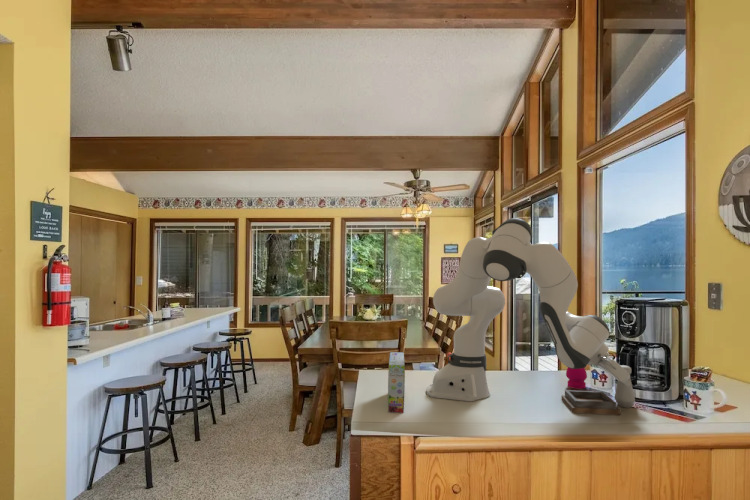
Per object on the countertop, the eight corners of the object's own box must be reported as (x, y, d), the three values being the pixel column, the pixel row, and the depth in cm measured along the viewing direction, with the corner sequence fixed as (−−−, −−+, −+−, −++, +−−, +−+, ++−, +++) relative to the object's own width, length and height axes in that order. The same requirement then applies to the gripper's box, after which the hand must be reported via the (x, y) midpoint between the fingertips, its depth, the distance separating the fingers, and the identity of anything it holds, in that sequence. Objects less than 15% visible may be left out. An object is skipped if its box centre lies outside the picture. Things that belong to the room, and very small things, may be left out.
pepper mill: (563, 386, 163) (562, 333, 164) (571, 382, 168) (570, 331, 169) (582, 390, 158) (581, 336, 159) (590, 386, 163) (589, 334, 163)
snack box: (405, 413, 134) (405, 365, 134) (387, 413, 134) (387, 364, 135) (404, 393, 155) (404, 351, 155) (388, 392, 155) (388, 351, 156)
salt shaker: (638, 409, 137) (636, 368, 138) (618, 407, 138) (617, 367, 139) (630, 403, 143) (629, 364, 144) (612, 402, 144) (611, 363, 145)
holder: (572, 412, 134) (572, 401, 134) (561, 399, 147) (561, 389, 147) (620, 415, 132) (620, 403, 132) (605, 401, 145) (604, 391, 145)
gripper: (612, 352, 132) (647, 385, 130) (590, 340, 153) (620, 369, 151) (597, 365, 133) (632, 399, 131) (577, 352, 153) (607, 381, 151)
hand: (626, 382), depth 141 cm, fingers closed on salt shaker, 3 cm apart
